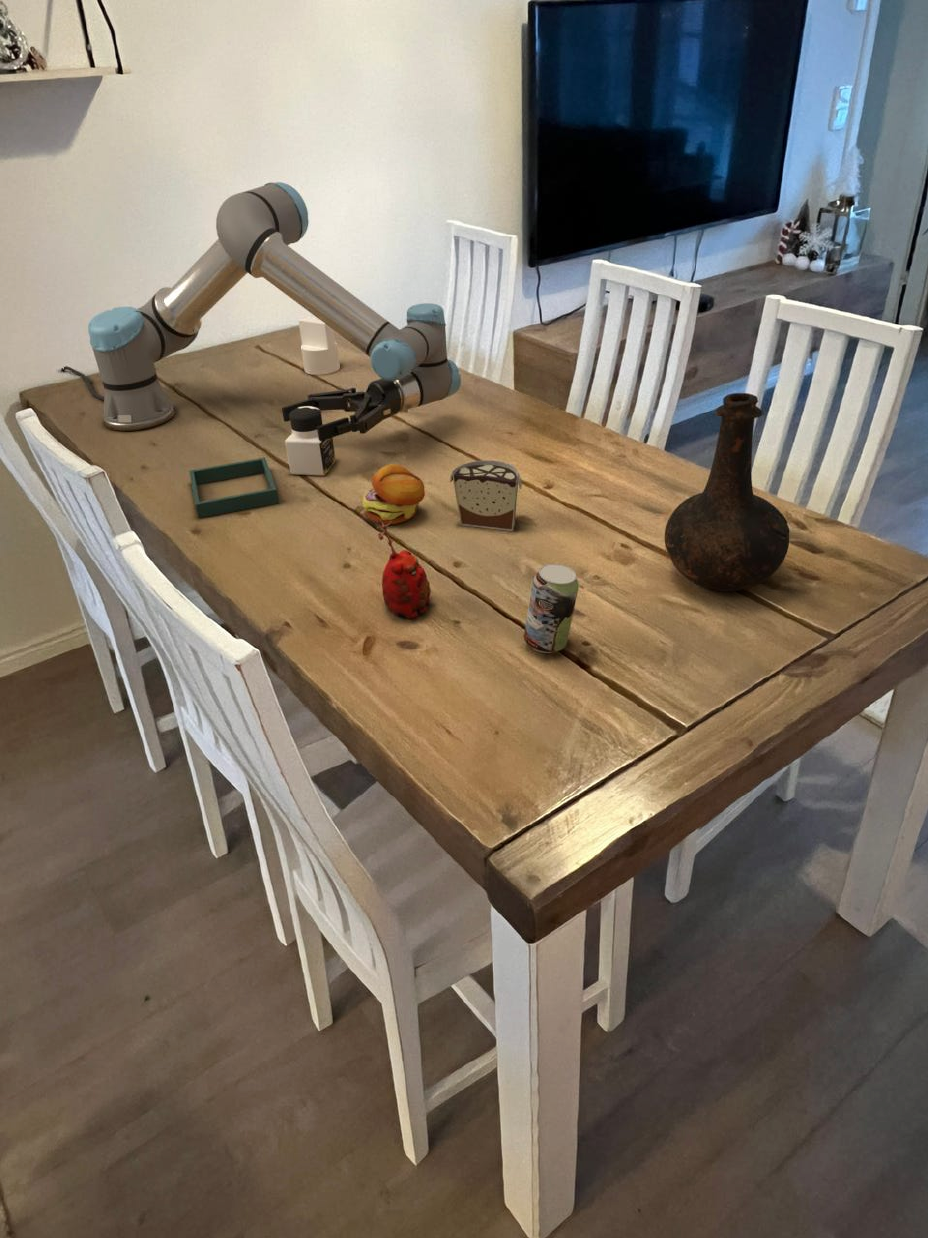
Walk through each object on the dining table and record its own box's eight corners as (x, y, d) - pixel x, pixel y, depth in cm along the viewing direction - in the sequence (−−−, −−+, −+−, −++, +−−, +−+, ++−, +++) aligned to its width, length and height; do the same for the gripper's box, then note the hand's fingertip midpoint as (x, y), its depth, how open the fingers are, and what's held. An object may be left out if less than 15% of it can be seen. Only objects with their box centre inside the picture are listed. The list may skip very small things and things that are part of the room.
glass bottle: (762, 619, 127) (792, 432, 112) (643, 588, 136) (655, 410, 120) (796, 561, 140) (828, 385, 124) (685, 536, 148) (702, 368, 132)
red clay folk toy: (424, 623, 131) (416, 532, 123) (377, 620, 132) (366, 530, 124) (435, 594, 137) (427, 506, 129) (390, 592, 139) (379, 504, 130)
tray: (192, 483, 175) (189, 470, 174) (267, 470, 179) (265, 457, 177) (198, 518, 163) (195, 504, 161) (279, 503, 166) (276, 489, 165)
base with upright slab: (347, 365, 229) (341, 317, 223) (324, 376, 223) (317, 327, 217) (320, 361, 234) (313, 313, 227) (297, 371, 228) (289, 323, 221)
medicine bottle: (324, 476, 175) (315, 417, 168) (290, 474, 176) (279, 416, 170) (336, 460, 181) (328, 403, 174) (302, 459, 182) (293, 402, 175)
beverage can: (521, 634, 127) (519, 561, 121) (572, 630, 128) (574, 556, 121) (527, 661, 122) (526, 586, 116) (581, 656, 123) (583, 580, 116)
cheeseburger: (379, 496, 166) (386, 448, 160) (430, 517, 164) (439, 470, 157) (350, 519, 159) (356, 470, 152) (403, 542, 156) (411, 493, 150)
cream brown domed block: (531, 515, 157) (530, 462, 151) (521, 532, 152) (520, 477, 147) (464, 508, 161) (461, 455, 155) (452, 524, 156) (449, 470, 150)
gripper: (430, 429, 177) (337, 461, 166) (361, 397, 193) (273, 425, 183) (427, 392, 173) (331, 423, 162) (357, 363, 189) (266, 389, 179)
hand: (300, 424), depth 173 cm, fingers open, 13 cm apart
